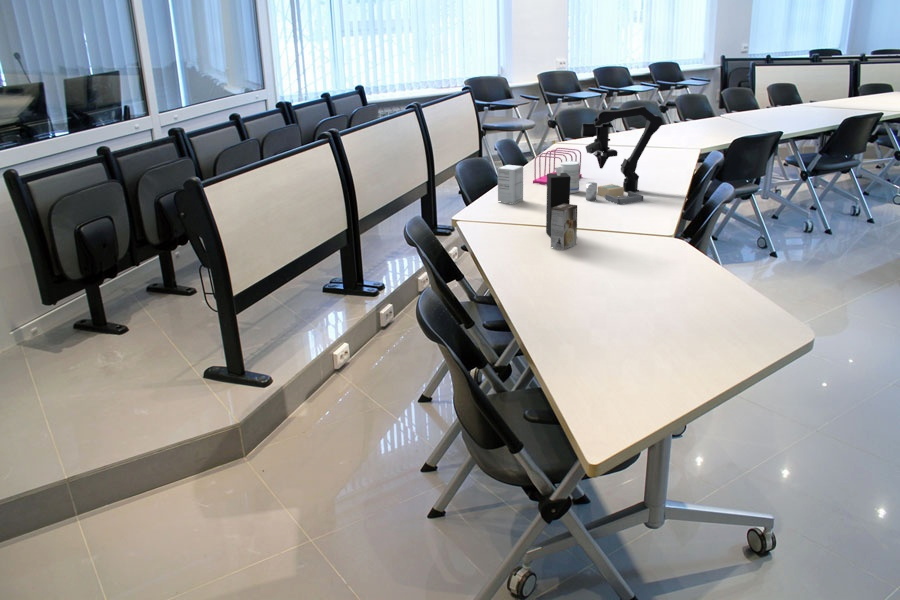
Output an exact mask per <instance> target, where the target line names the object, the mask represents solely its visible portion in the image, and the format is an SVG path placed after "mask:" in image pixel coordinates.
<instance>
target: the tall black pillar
mask: <svg viewBox="0 0 900 600" xmlns="http://www.w3.org/2000/svg"><path fill="white" fill-rule="evenodd" d="M561 170H562V167H561V166H559V167H558V166H557V167H555V172H557V173H552V172H550V174H549V173H546V175H547V185H546V218H545V219H546V221H545V222H546V223H545V225H546V226H545V228H546V229H545V232H546V234H547V236H548V237H549V238H551V208H553V207H555V206H558V205H561V204H564V203H565V204H571V201H570V200H571V193H570V180H571V177H570V176H569V175H568V174H567V173H561Z"/></svg>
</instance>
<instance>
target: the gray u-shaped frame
mask: <svg viewBox="0 0 900 600" xmlns="http://www.w3.org/2000/svg"><path fill="white" fill-rule="evenodd" d="M628 196H629V197H628ZM605 199H606V200H605ZM604 200H605V201H608V202H610V201H611V202H610V203H613V202H614V204H616V203H617V204H616V205H618V204H619V205H624V204H623V203H625V204H631V202H632V203H637V202H638V201H639V202H644V195H642V194H640V193H637V192H631V191H628V192H627V197H613V196H611V195H608V194H606V195H605V197H604Z"/></svg>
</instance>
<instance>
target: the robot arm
mask: <svg viewBox="0 0 900 600" xmlns="http://www.w3.org/2000/svg"><path fill="white" fill-rule="evenodd" d="M636 116H642V118H644V119H645V120H646V123H645V125H644V126H645V127H644V130H643V132H642V135H641V136H640V137H639V140H638V142H637V144H636V145H635V147H634V149H633V151H632V152H631V154H630V156H629V157H627V159H626V158H623V161H622V163H621V164H620V172H621V174H622V175H623V176H624V179H623V182H622V187H624V192H627V193H628V191H631V192H634V193H637V192H640V189H638V187H639V186H638V185H639V179H640V176H639V175H638V174H637V173H636V170H637V167H638V162H639V160H640V157H641V156H642V154H643V153H644V151H645V149H646V147H647V146H648V143H649V141H650V140H651V139H652V137H653V135H654V134H655V133H656V132H658V130H659V129H660V127H662V124H663V119H662V117H661V116H659V115H657V114H654V113H652V112H651V111H649V110H648V109H647V107H646V106H642V105H640V106H636V107H630V108H623V109H614V110H613V109H600V110H598V112H597V114H596V117H595V118H594V120H593V121H592V122H590V123H589V122H588V123H587V122H582V123H581V124H582V125H581V129H580V136H581V138H593V137H594V136H596V138H594V140H593V142H591V143H589V144H587V145H585V151H586V154H593V156H595V157H596V160H597V163H598V166H599V167H598V168H599V169H602V170H603V168H604V166H605V164H606V162H607V161H608V159H609V158H611V157H618V150H615V149H611V147H609V142H611V138H609V137H610V136H609V135H610V134H609V132H610V128H614V125H612V123H611V122H613V121H616V120H619V119H625V118H630V117H636Z"/></svg>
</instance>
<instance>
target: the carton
mask: <svg viewBox="0 0 900 600" xmlns="http://www.w3.org/2000/svg"><path fill="white" fill-rule="evenodd" d="M624 193H625V191H624V187H623V186H620V185H618V184H617V185H616V184H612V183H611V184H607V185H606V184H605V185H597V196H599V195H600V196H599V197H602V196H604V197H603V198H605V195H606V194H608V195H611V196H613V197H616V198H619V197H618V196H621V197H624V195H625V194H624Z"/></svg>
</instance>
